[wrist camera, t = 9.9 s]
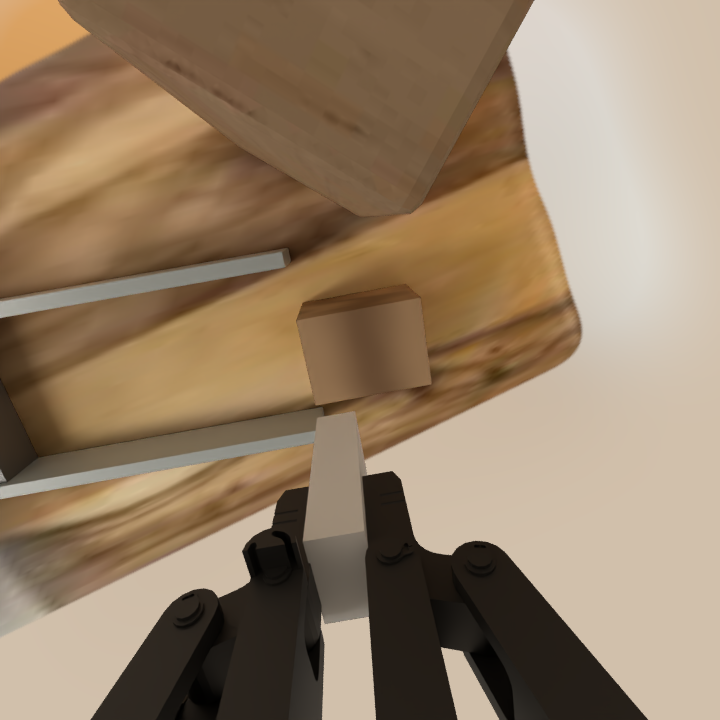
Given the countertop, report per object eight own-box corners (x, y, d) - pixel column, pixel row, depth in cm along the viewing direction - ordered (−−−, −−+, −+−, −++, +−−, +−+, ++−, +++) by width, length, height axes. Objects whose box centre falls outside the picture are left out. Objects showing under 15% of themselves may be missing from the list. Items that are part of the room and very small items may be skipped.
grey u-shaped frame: (19, 471, 35) (-19, 502, 31) (-63, 310, 31) (-119, 322, 27) (324, 417, 35) (323, 441, 31) (288, 247, 31) (281, 251, 27)
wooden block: (300, -13, 26) (211, -648, 7) (436, 80, 28) (655, -214, 9) (235, 145, 28) (37, -4, 9) (364, 219, 30) (415, 221, 11)
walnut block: (318, 374, 34) (315, 405, 28) (302, 302, 32) (296, 320, 26) (415, 356, 34) (431, 384, 28) (405, 283, 32) (420, 297, 26)
